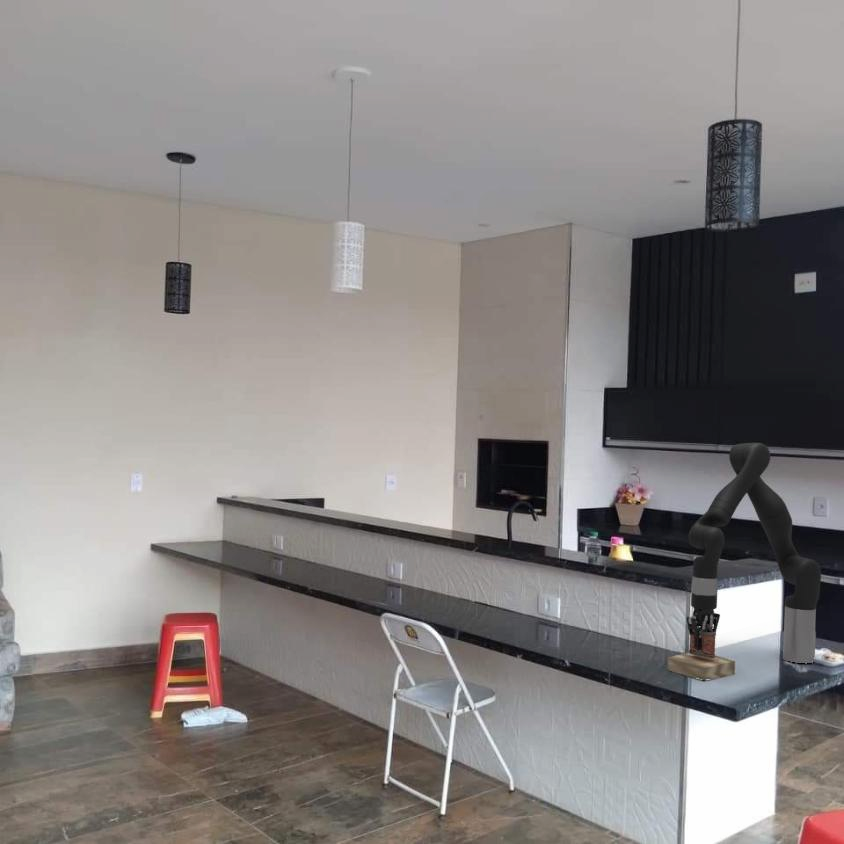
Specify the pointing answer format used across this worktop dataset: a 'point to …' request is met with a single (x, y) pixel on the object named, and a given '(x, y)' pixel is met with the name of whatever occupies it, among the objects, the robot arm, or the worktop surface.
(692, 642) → the lighter
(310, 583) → the worktop surface
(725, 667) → the dock
